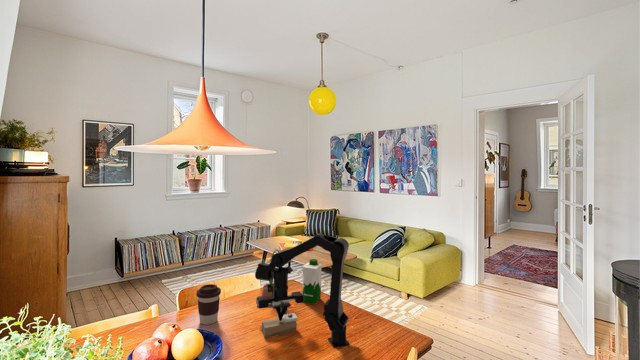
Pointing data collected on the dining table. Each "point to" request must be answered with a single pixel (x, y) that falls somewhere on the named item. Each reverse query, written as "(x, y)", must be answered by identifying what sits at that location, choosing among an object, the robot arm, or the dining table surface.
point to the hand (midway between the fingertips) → (280, 320)
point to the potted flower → (264, 292)
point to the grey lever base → (278, 327)
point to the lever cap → (289, 318)
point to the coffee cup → (208, 303)
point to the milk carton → (312, 282)
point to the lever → (271, 306)
